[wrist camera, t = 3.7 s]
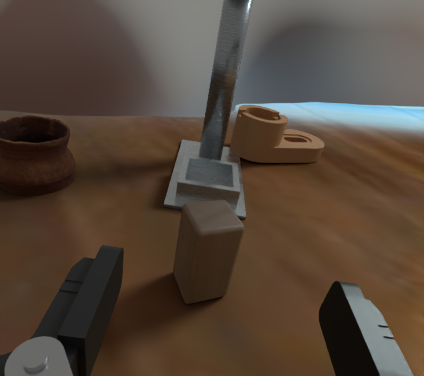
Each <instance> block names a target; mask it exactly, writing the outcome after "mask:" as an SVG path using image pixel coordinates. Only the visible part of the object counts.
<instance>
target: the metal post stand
mask: <svg viewBox="0 0 424 376" xmlns="http://www.w3.org/2000/svg"><path fill="white" fill-rule="evenodd" d="M252 4H253V0H224V1H223V7H222V14H221V20H220V26H219V32H218V39H217V45H216V51H215V58H214V64H213V69H212V75H211V82H210V88H209V94H208V100H207V107H206V113H205V119H204V125H203V131H202V137H201V143H200V142H194V141H188V140H182V142H181V146H180V149H179V153H178V156H177V160H176V163H175V167H174V170H173V174H172V177H171V181H170V184H169V187H168V191H167V194H166V198H165V201H164V206H163V207H169V208H175V209H181V210H182V206H183V204H185V203H190V202H201V201H213V200H225V201H227V203H228V204H229V206H230V207H231V208H232V210H233V211H234V212H235V214H236V215H237V217H238V218H239V219H246V212H245V203H244V193H243V184H242V174H241V165H240V157H239V156H237V155H236V154H234V153H233V152H232V151H231V149H230V147H224V141H225V136H226V132H227V127H228V122H229V117H230V112H231V107H232V102H233V97H234V92H235V87H236V82H237V77H238V73H239V68H240V63H241V58H242V53H243V48H244V43H245V38H246V33H247V28H248V24H249V19H250V14H251V9H252Z"/></svg>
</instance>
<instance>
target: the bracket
mask: <svg viewBox="0 0 424 376" xmlns="http://www.w3.org/2000/svg"><path fill="white" fill-rule="evenodd" d="M287 122H288V118H287V117H286V116H285V115H279V112H277V111H275V110H272V109H269V108H265V107H261V106H255V105H243V106H240V107H239V110H238V114H237V118H236V122H235V127H234V131H233V135H232V139H231V143H230V149H231V151H232V152H233V153H234V154H236V155H237V156H239V157H241V158H243V159H246V160H249V161H253V162H259V163H312V162H317V161H318V160H319V158H320V155H321V153H322V150H323V148H324V143H323V142H322V141H321V140H320V139H319V138H317V137H315V136H313V135H311V134H308V133H305V132H302V131H297V130H289V129H285V128H286V125H287Z"/></svg>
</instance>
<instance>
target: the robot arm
mask: <svg viewBox="0 0 424 376" xmlns="http://www.w3.org/2000/svg"><path fill="white" fill-rule="evenodd" d="M123 252H124V251H123V248H118V247H112V246H105V245H102V246H101V248H100V250H99V252H98V254H97V256H96V258H95V259H91V258H83V259H82V260H80V261H79V262H78V263H77V264H75V265H74V266H73V267H72V268H71V270H70V272H69V274H68V275H67V277H66V279H65V282H63V284H62V286H61V288H60V289H59V292H58V293H57V295H56V296H55V298H54V300H53V302H52V304H51V305H50V307H49V309H48V311H47V312H46V314H45V316H44V318H43V319H42V321H41V323H40V325H39V327H38V328H37V330H36V332H35V333H34V335H33V336H32V337H31V338H30V339H29V340H28V341H26V342H24V343H22V344H21V345H20V346H18V347H17V348H16V349H15V350H14V351H12V352H10V353H7V354H4V355H0V376H90V375H91V372H92V369H93V366H94V363H95V361H96V358H97V355H98V352H99V349H100V346H101V344H102V341H103V338H104V335H105V332H106V329H107V326H108V324H109V321H110V318H111V315H112V312H113V309H114V307H115V304H116V301H117V298H118V295H119V292H120V288H121V283H122V273H123ZM319 323H320V326H321V329H322V333H323V336H324V339H325V342H326V346H327V349H328V352H329V355H330V358H331V362H332V365H333V368H334V371H335V374H336V376H414V375H413V374H412V372H411V370H410V368H409V366H408V364H407V362H406V360H405V358H404V356H403V354H402V352H401V350H400V349H399V347H398V345H397V343H396V341H395V340H394V339H393V338H394V337H393V335H392V333H391V331H390V329H388V325H387V324H386V322H385V320H384V318H383V316H382V314H381V312H380V311H379V310H378V309H377V308H376V307H375V306H374V305H373V304H372V302H371V301H370V300H365V298H364V296H363V294H362V292H361V290H360V288H359V286H358V285H357V284H353V283H346V282H339V281H335V282H334V283H333V284H332V286H331V288H330V290H329V292H328V294H327V295H326V297H325V299H324V301H323V303H322V305H321V307H320V310H319Z"/></svg>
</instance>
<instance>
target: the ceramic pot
mask: <svg viewBox="0 0 424 376" xmlns="http://www.w3.org/2000/svg"><path fill="white" fill-rule="evenodd" d="M69 137H70V130H69V128H68V126H67V125H66V124H64V123H63V122H61V121H59V120H56V119H50V118H44V117H39V116H34V115H27V116H23V117H15V118H11V119H10V120H7V121H5V122H4V121H1V122H0V186H1V188H2V189H3V190H5V191H6V192H8V193H11V194H16V195H43V194H48V193H53V192H56V191H60V190H62V189H64V188H66V187H68V186H69V185H70V184H71V183H72V182H73V181H74V171H75V166H76V163H75V160H74V158H73V155H72V153H71V152H70V150H69V149H68V148H67V144H68V141H69Z"/></svg>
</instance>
